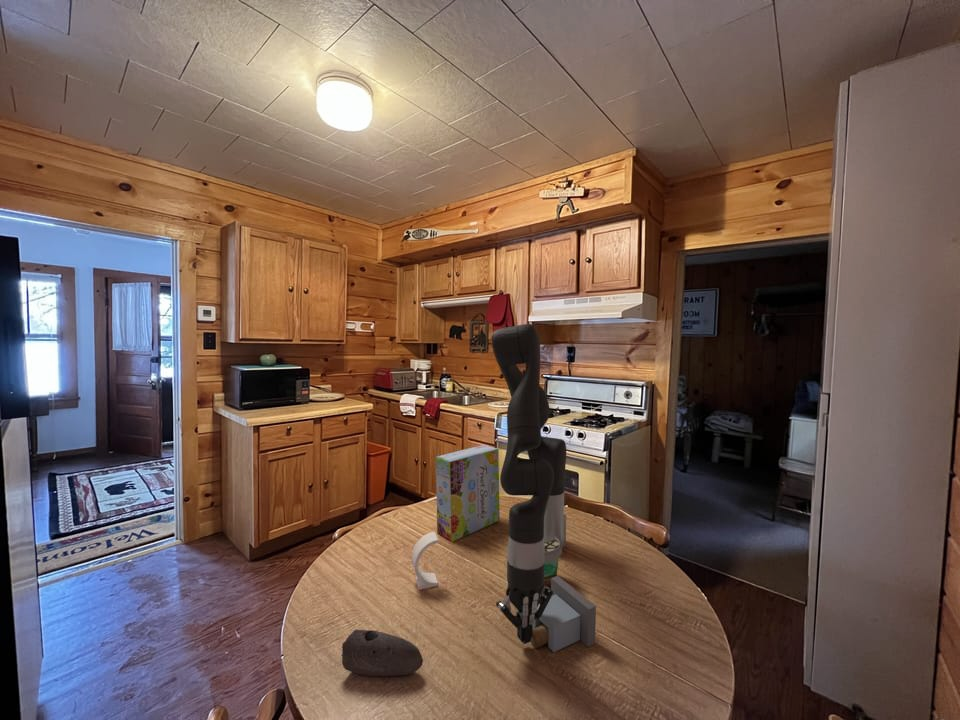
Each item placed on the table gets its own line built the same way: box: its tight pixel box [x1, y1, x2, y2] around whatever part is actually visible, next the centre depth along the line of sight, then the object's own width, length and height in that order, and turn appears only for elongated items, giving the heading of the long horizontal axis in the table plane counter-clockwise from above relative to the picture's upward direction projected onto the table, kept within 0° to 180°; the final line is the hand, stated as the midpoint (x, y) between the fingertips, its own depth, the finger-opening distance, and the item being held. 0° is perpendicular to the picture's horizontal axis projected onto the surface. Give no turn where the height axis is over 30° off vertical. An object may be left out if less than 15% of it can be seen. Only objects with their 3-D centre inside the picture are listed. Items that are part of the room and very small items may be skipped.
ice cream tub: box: [544, 536, 563, 589], centre depth 101 cm, size 12×6×10 cm, turn 117°
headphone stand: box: [411, 531, 439, 591], centre depth 101 cm, size 5×6×12 cm
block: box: [533, 594, 581, 653], centre depth 84 cm, size 7×8×5 cm
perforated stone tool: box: [341, 629, 424, 677], centre depth 74 cm, size 15×5×7 cm, turn 83°
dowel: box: [530, 625, 548, 649], centre depth 83 cm, size 8×3×3 cm, turn 119°
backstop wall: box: [550, 575, 597, 648], centre depth 86 cm, size 2×12×8 cm, turn 29°
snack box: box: [435, 444, 501, 543], centre depth 132 cm, size 22×9×26 cm, turn 133°
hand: (524, 640), depth 80 cm, fingers closed
